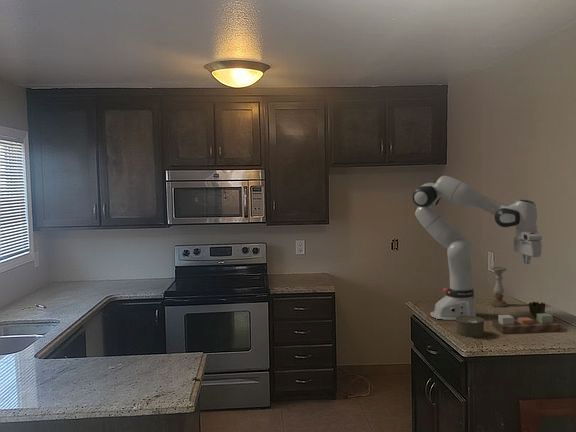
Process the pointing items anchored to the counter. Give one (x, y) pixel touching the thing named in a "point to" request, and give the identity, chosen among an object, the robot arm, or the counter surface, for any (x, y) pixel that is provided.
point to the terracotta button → (525, 320)
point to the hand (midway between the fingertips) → (526, 263)
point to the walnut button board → (526, 327)
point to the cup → (536, 308)
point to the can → (470, 326)
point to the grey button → (505, 319)
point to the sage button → (544, 318)
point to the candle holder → (498, 288)
